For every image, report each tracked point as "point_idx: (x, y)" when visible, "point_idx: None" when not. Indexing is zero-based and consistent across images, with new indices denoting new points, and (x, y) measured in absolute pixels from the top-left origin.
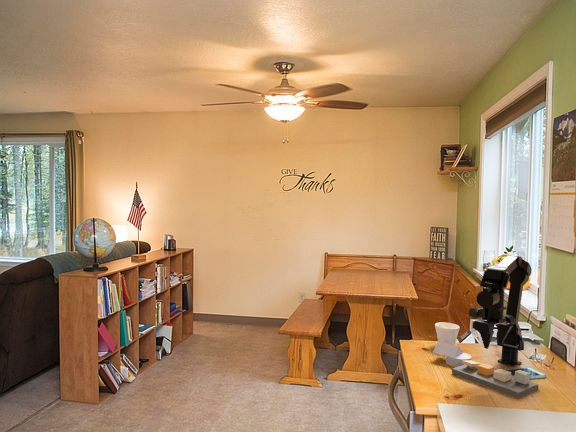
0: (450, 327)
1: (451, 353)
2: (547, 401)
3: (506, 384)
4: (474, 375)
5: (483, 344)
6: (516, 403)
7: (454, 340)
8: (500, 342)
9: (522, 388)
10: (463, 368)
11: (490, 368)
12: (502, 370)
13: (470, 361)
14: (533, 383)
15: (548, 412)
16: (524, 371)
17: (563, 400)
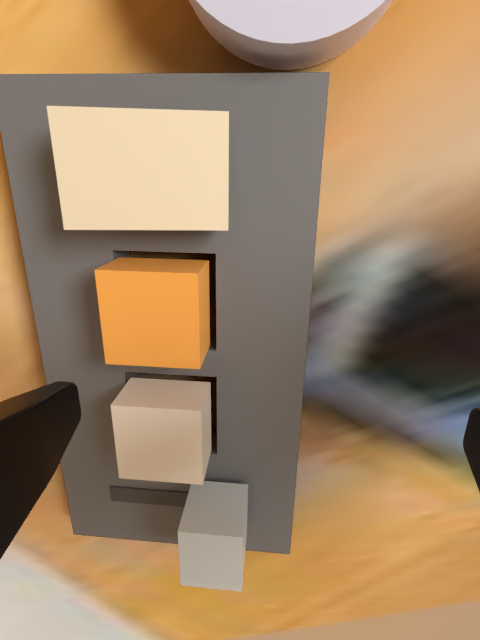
0: None
1: None
2: None
3: (113, 464)
4: (47, 279)
5: (7, 399)
6: (39, 518)
7: None
8: (472, 450)
9: (144, 529)
10: None
11: (139, 365)
12: (181, 437)
13: (149, 150)
14: (272, 538)
15: (87, 607)
16: (240, 564)
17: (263, 612)
